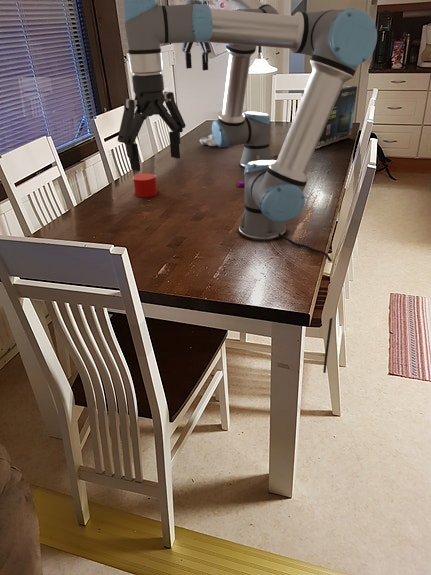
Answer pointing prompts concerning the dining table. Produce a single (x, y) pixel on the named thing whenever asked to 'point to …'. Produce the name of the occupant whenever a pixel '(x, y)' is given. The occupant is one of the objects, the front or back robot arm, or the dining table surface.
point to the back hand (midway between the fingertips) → (197, 69)
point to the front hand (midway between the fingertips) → (156, 163)
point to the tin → (145, 185)
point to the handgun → (241, 183)
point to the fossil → (208, 141)
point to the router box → (340, 116)
